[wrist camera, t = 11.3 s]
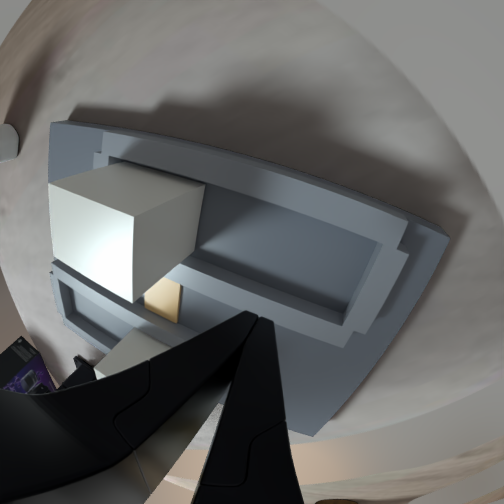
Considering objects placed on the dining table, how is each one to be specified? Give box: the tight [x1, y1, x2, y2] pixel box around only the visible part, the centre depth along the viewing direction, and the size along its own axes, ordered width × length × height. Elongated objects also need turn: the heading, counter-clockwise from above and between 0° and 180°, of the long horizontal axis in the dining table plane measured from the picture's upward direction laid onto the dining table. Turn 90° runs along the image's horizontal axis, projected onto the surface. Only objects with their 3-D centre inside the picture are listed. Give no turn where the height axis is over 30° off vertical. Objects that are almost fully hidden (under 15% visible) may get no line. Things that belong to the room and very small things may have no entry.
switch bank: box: [48, 120, 450, 437], centre depth 16 cm, size 17×24×2 cm
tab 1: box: [48, 162, 206, 303], centre depth 12 cm, size 4×5×5 cm
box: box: [0, 336, 57, 394], centre depth 34 cm, size 17×7×12 cm, turn 168°
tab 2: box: [94, 327, 172, 380], centre depth 16 cm, size 4×5×5 cm
